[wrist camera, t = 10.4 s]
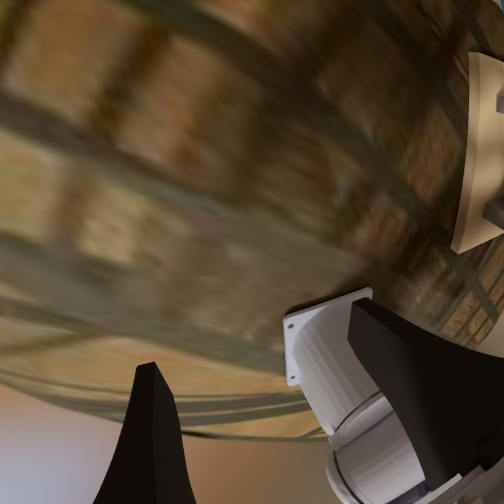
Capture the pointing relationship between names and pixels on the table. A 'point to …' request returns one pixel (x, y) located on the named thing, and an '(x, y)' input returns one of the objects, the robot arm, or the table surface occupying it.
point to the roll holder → (482, 157)
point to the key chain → (500, 4)
